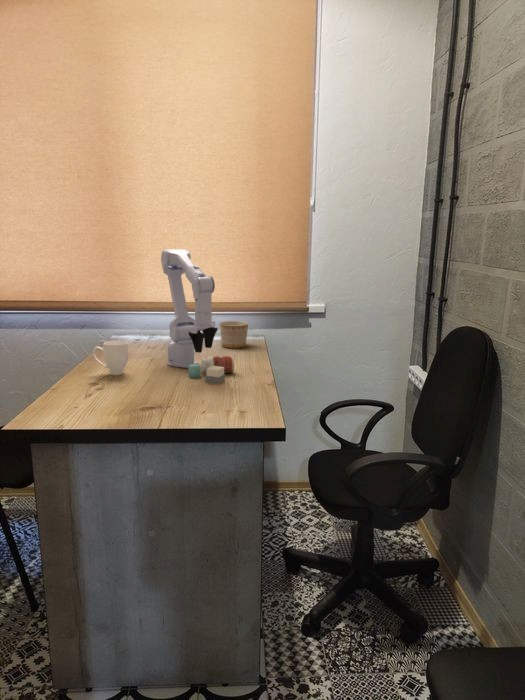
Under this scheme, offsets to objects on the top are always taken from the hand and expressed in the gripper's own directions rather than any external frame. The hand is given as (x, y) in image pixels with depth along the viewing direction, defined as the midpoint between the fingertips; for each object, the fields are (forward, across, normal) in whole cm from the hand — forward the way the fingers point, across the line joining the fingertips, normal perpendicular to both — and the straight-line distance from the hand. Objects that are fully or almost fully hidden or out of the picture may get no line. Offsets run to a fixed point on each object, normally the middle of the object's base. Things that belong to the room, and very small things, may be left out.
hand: (203, 349), depth 176 cm
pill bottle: (+6, +9, -8) cm, 13 cm away
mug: (+10, -11, +31) cm, 34 cm away
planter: (+10, +48, +10) cm, 50 cm away
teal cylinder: (+10, -2, +3) cm, 10 cm away
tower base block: (+10, -4, -6) cm, 12 cm away
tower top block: (+7, -4, -6) cm, 11 cm away
